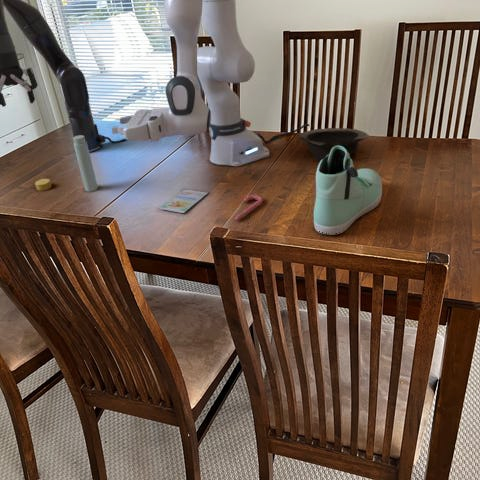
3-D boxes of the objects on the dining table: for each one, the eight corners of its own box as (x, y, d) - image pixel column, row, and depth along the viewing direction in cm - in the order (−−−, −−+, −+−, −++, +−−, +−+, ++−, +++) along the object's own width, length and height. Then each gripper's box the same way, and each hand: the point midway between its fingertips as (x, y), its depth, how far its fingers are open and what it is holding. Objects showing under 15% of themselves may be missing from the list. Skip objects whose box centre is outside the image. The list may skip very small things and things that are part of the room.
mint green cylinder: (97, 185, 166) (84, 134, 156) (98, 189, 163) (85, 137, 153) (85, 187, 165) (71, 136, 155) (85, 192, 161) (72, 140, 152)
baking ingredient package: (158, 207, 146) (184, 188, 157) (159, 209, 146) (185, 189, 158) (183, 212, 142) (208, 192, 154) (183, 213, 143) (208, 193, 154)
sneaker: (389, 187, 148) (396, 123, 138) (356, 242, 123) (361, 168, 112) (346, 181, 154) (350, 119, 144) (306, 232, 129) (307, 161, 118)
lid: (35, 186, 168) (33, 181, 167) (50, 183, 170) (48, 177, 169) (37, 191, 165) (36, 186, 163) (52, 188, 166) (51, 182, 165)
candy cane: (221, 217, 140) (221, 213, 139) (250, 196, 150) (250, 192, 149) (238, 222, 136) (238, 217, 136) (266, 200, 146) (266, 196, 146)
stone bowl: (326, 172, 161) (325, 145, 157) (286, 155, 181) (284, 131, 177) (383, 154, 170) (384, 128, 165) (339, 140, 190) (339, 116, 186)
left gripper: (-27, 55, 140) (-8, 110, 148) (23, 50, 142) (39, 104, 150) (-20, 51, 146) (-3, 104, 155) (28, 46, 148) (43, 98, 156)
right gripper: (163, 103, 158) (122, 106, 159) (151, 123, 140) (105, 125, 141) (166, 122, 161) (126, 124, 162) (155, 143, 144) (110, 146, 145)
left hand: (18, 104), depth 152 cm, fingers open, 8 cm apart
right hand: (116, 125), depth 152 cm, fingers open, 8 cm apart
